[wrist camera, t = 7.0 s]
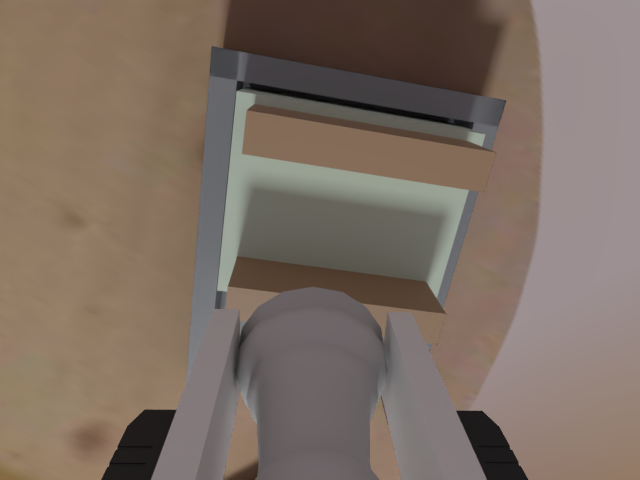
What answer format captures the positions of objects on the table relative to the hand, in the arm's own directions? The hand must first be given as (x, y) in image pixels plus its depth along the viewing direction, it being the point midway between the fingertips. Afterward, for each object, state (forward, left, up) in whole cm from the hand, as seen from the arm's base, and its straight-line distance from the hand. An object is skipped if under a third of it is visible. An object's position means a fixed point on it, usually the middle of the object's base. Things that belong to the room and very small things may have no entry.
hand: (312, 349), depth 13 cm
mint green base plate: (+2, 0, -19) cm, 19 cm away
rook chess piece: (0, 0, 0) cm, 0 cm away
